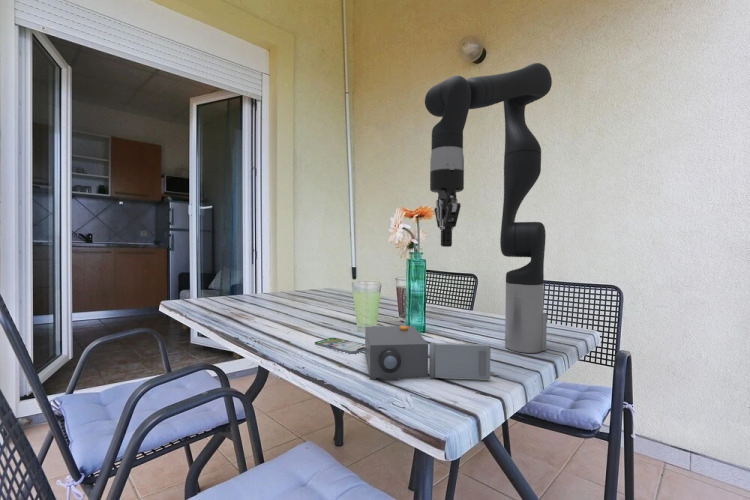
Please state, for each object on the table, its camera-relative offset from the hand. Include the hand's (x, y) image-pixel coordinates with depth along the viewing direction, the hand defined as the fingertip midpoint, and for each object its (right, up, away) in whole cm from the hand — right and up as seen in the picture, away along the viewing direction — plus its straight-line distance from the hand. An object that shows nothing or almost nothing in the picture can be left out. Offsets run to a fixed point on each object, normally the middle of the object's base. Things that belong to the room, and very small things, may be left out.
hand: (446, 246), depth 82 cm
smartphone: (-25, -27, +14) cm, 40 cm away
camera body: (-12, -27, 0) cm, 30 cm away
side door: (+1, -27, -9) cm, 28 cm away
